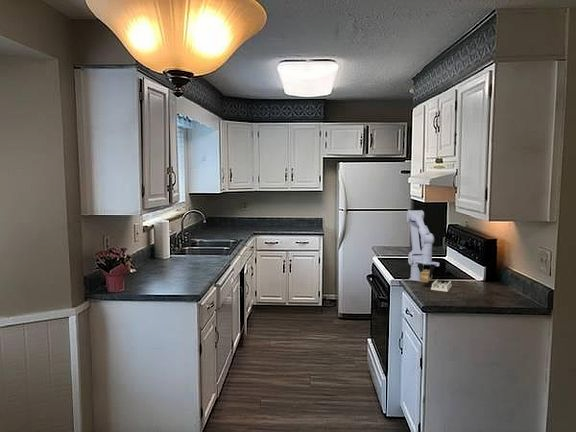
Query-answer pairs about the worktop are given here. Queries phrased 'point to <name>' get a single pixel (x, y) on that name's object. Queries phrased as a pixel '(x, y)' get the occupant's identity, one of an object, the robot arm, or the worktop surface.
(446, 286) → the peg base
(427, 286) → the worktop surface
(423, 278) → the golden brown block
